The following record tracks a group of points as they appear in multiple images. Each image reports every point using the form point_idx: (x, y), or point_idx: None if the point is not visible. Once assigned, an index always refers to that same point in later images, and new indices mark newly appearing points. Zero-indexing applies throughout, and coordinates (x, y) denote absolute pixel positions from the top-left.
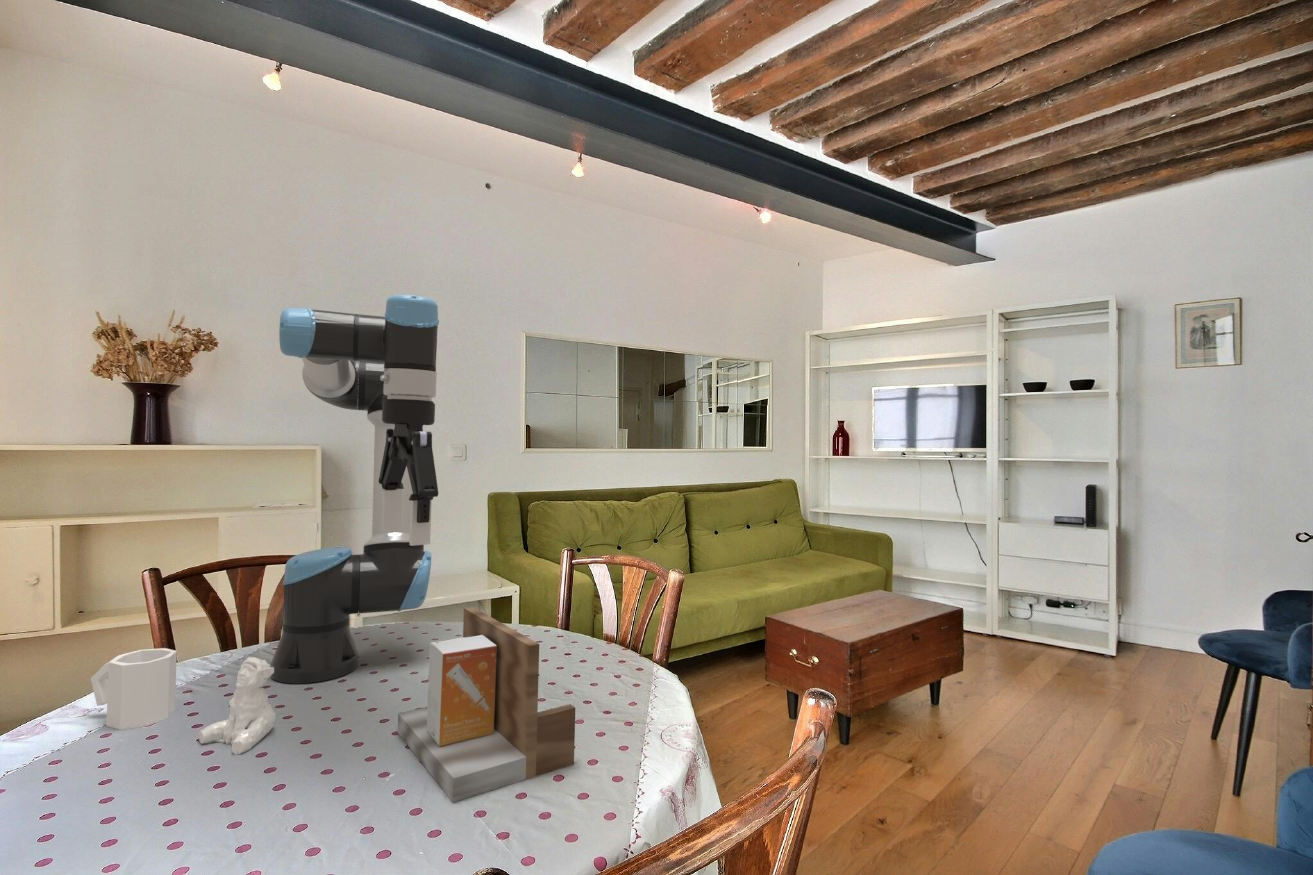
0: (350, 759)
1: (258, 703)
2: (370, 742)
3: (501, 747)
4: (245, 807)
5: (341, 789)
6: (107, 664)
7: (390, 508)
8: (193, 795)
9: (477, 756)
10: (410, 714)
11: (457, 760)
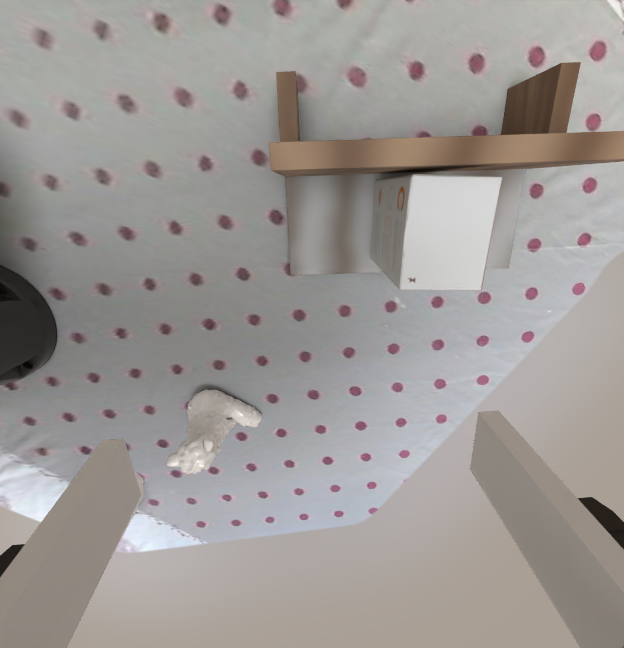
0: (334, 329)
1: (222, 425)
2: (302, 302)
3: None
4: (376, 415)
5: (395, 347)
6: None
7: (82, 573)
8: (328, 445)
9: None
10: (303, 261)
11: None
